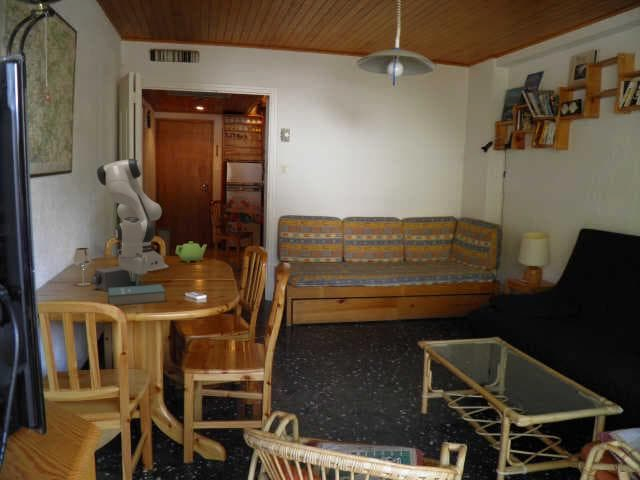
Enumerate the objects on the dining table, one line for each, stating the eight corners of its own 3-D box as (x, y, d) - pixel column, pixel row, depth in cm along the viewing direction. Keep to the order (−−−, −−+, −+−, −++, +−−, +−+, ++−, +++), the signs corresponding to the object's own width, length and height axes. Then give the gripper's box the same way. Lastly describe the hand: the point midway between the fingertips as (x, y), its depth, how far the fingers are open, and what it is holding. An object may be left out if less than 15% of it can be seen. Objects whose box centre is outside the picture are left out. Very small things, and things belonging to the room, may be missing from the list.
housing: (126, 283, 266) (125, 264, 265) (136, 286, 260) (136, 266, 259) (91, 288, 253) (90, 268, 252) (101, 292, 246) (100, 271, 245)
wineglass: (75, 286, 257) (73, 250, 254) (74, 283, 264) (72, 248, 262) (93, 285, 260) (91, 249, 258) (92, 282, 268) (90, 247, 265)
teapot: (203, 258, 343) (203, 239, 341) (210, 261, 331) (210, 241, 330) (172, 261, 332) (172, 241, 331) (179, 264, 321) (178, 243, 319)
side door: (135, 285, 259) (134, 269, 258) (139, 285, 260) (139, 269, 259) (137, 292, 245) (136, 275, 244) (141, 291, 246) (141, 275, 245)
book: (109, 307, 222) (109, 295, 221) (108, 298, 236) (108, 287, 236) (165, 302, 231) (164, 291, 230) (161, 294, 245) (160, 283, 245)
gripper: (150, 254, 241) (151, 283, 243) (128, 248, 255) (128, 276, 257) (137, 255, 237) (138, 285, 239) (115, 250, 250) (116, 278, 252)
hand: (133, 281), depth 248 cm, fingers closed
